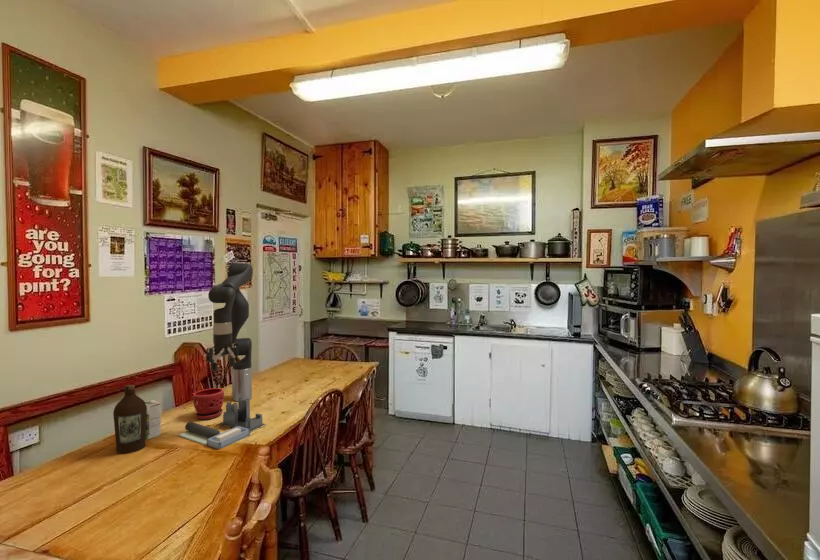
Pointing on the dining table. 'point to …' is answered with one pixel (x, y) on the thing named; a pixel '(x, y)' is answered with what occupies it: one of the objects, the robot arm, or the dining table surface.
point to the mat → (195, 437)
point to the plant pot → (208, 403)
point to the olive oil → (130, 422)
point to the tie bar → (228, 434)
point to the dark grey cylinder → (201, 429)
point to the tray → (228, 441)
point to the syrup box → (153, 419)
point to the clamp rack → (241, 416)
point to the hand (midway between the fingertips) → (223, 368)
